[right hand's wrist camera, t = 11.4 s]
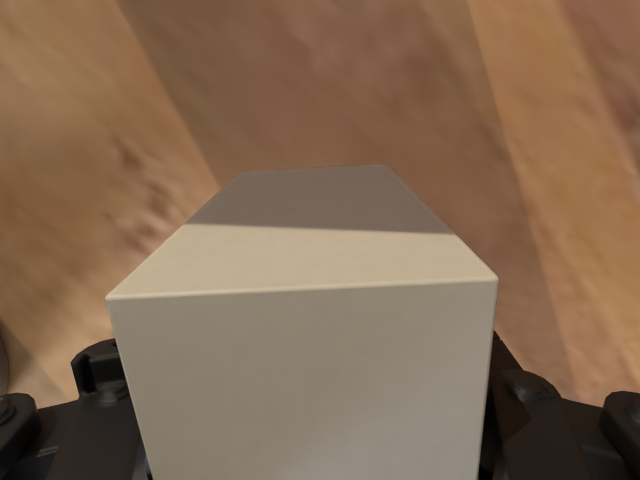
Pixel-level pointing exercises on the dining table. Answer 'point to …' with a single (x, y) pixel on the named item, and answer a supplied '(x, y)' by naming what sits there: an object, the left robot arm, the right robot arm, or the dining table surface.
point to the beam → (309, 334)
